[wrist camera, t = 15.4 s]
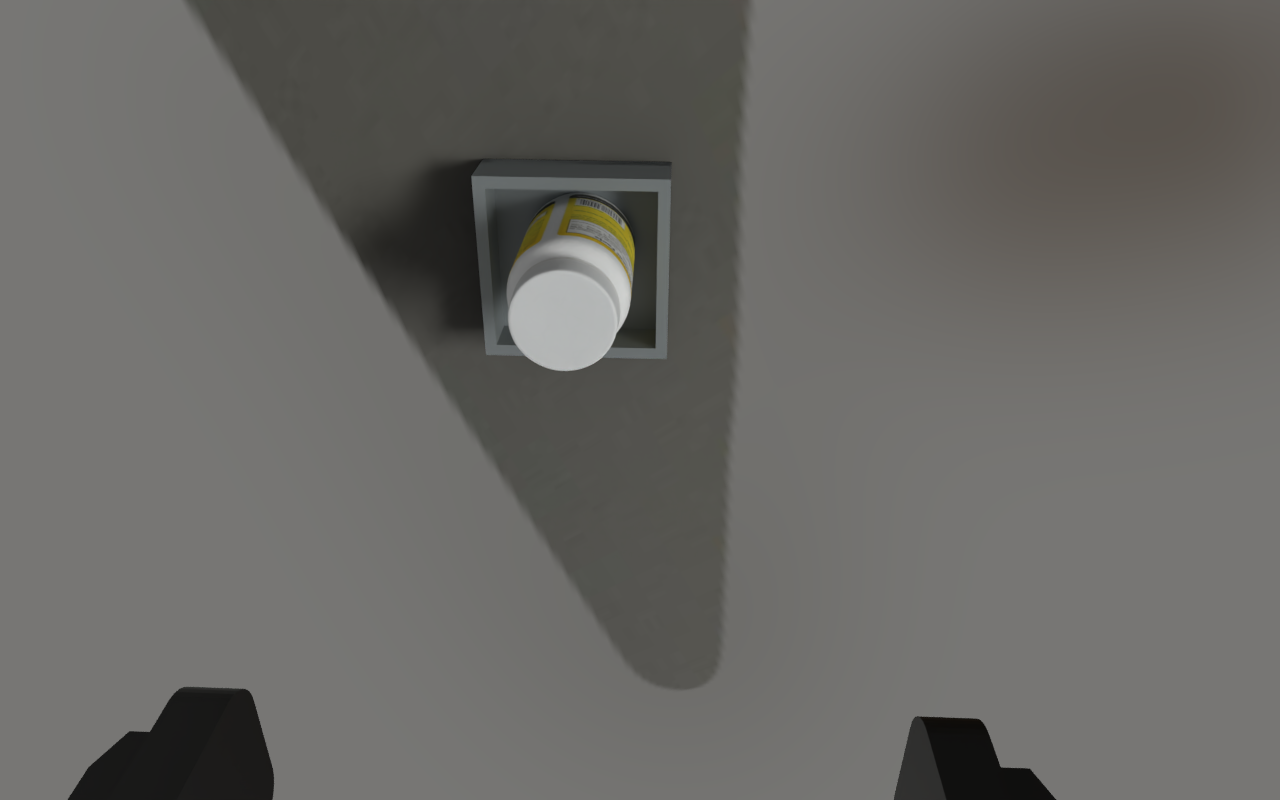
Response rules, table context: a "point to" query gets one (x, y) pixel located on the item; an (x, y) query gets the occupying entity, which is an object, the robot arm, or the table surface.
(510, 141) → the table surface
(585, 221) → the supplement bottle
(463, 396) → the table surface
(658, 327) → the tray
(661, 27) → the table surface
